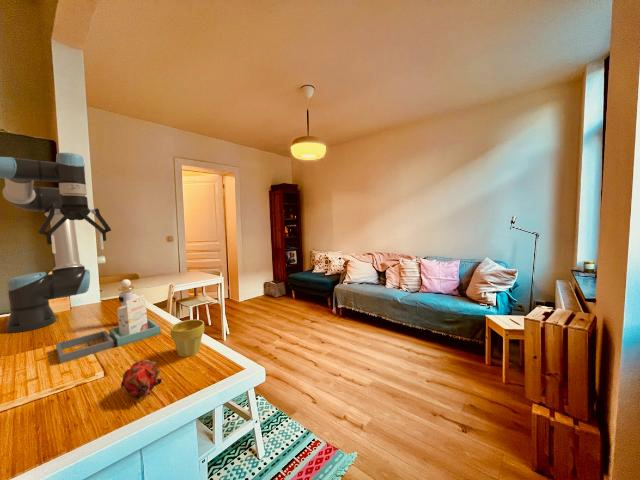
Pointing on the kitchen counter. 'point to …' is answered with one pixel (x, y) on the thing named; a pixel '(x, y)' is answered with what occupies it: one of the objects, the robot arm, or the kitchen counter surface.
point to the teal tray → (134, 334)
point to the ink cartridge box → (132, 316)
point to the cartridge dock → (84, 351)
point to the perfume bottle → (125, 292)
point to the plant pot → (187, 336)
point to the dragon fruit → (140, 378)
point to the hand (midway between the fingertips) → (79, 251)
